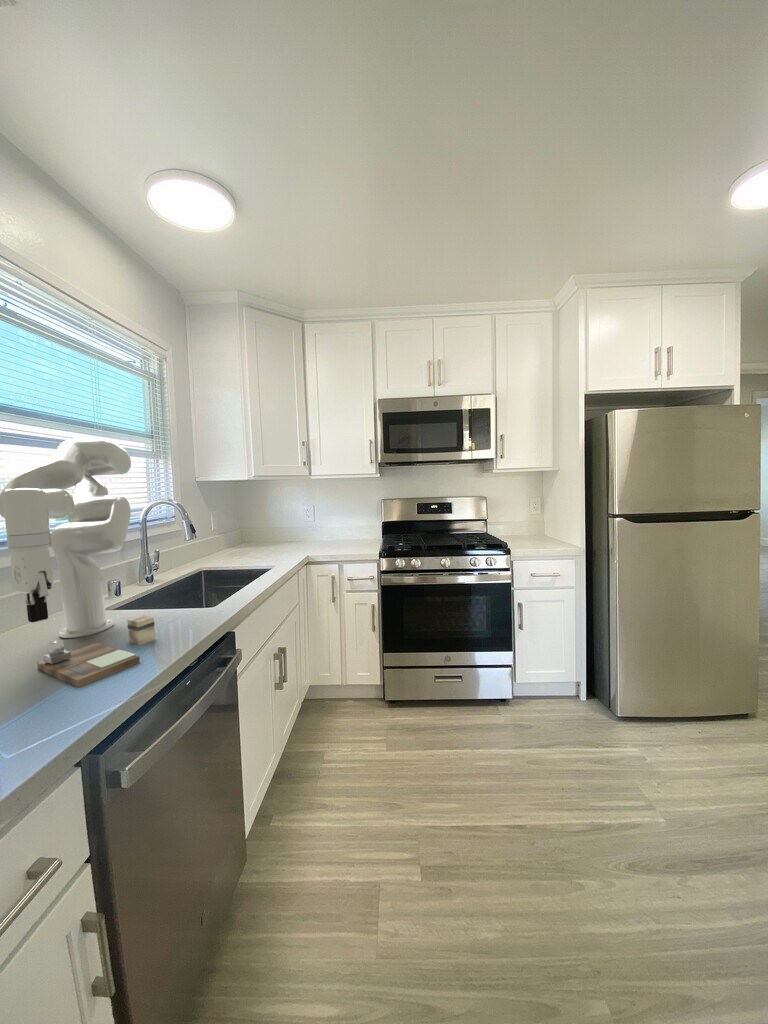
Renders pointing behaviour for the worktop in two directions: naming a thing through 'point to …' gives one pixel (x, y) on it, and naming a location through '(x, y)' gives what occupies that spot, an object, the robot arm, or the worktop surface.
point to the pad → (110, 658)
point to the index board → (85, 665)
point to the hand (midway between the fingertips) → (38, 620)
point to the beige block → (141, 629)
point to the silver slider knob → (56, 652)
